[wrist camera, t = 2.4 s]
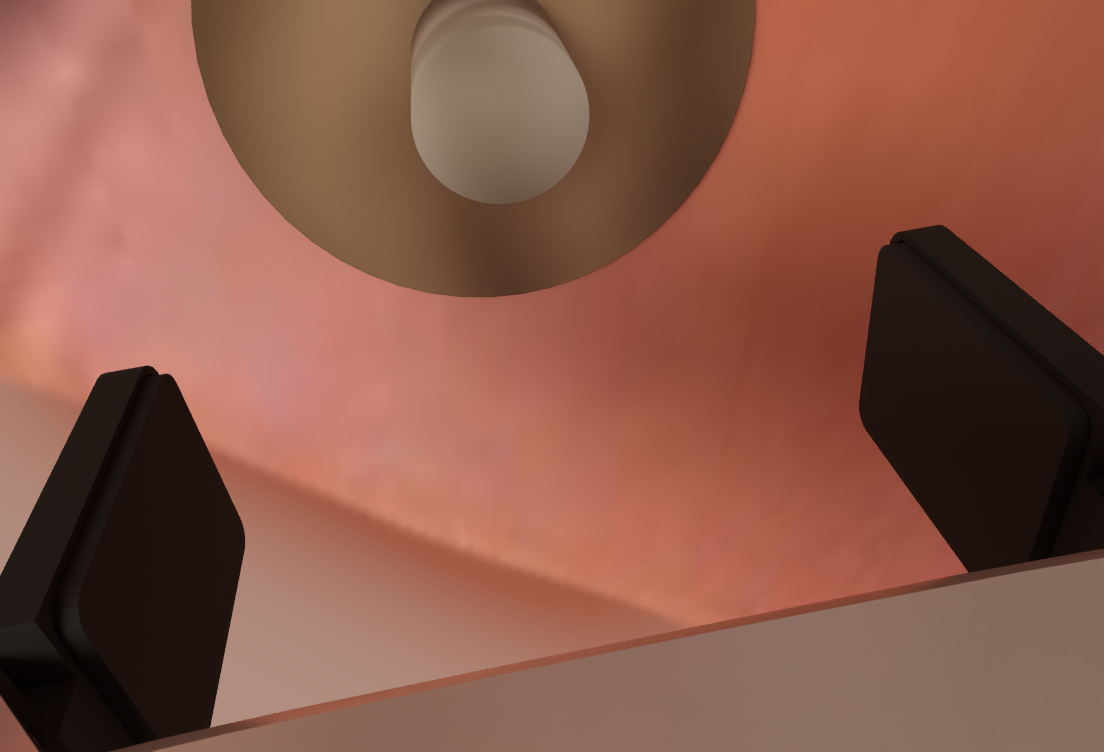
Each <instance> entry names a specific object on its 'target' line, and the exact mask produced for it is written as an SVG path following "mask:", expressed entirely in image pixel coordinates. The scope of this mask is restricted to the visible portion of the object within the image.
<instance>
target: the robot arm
mask: <svg viewBox="0 0 1104 752" xmlns="http://www.w3.org/2000/svg"><path fill="white" fill-rule="evenodd" d="M859 411H860V417H861V420H862V423H863V426H864V427H865V429H866V431H867V432H868V434H869V435H870V436H871V438H872V439H873V441H874V442H875V443H876V445H877V446H878V448H879V449H880V450H881V452H882V453H883V454H884V456H885V457H886V459H887V460H888V461H889V463H890V464H891V466H892V467H893V468H894V470H895V471H896V472H897V474H898V475H899V477H900V478H901V479H902V481H903V482H904V484H905V485H906V486H907V488H908V489H909V490H910V492H911V493H912V495H913V496H914V497H915V499H916V500H917V502H918V503H919V504H920V506H921V507H922V508H923V510H924V511H925V513H926V514H927V515H928V517H929V518H930V520H931V521H932V522H933V524H934V525H935V526H936V528H937V529H938V531H939V532H940V533H941V535H942V536H943V538H944V539H945V540H946V542H947V543H948V544H949V546H950V547H951V549H952V550H953V551H954V553H955V554H956V556H957V557H958V558H959V560H960V561H961V562H962V564H963V565H964V567H965V568H966V569H967V571H968V572H969V573H965V574H960V575H955V576H950V577H945V578H940V579H935V580H930V581H924V582H919V583H914V584H909V585H904V586H899V587H894V588H889V589H884V590H879V591H874V592H868V593H863V594H858V595H853V596H848V597H843V598H838V599H833V600H828V601H823V602H817V603H812V604H807V605H802V606H797V607H792V608H787V609H782V610H777V611H772V612H767V613H762V614H757V615H752V616H747V617H742V618H737V619H732V620H727V621H722V622H717V623H712V624H707V625H702V626H697V627H692V628H687V629H682V630H677V631H672V632H667V633H663V634H657V635H653V636H647V637H642V638H637V639H633V640H627V641H622V642H617V643H613V644H608V645H603V646H598V647H593V648H588V649H583V650H578V651H574V652H568V653H563V654H558V655H553V656H548V657H544V658H539V659H534V660H529V661H524V662H519V663H514V664H509V665H505V666H499V667H495V668H490V669H485V670H480V671H475V672H471V673H466V674H461V675H456V676H451V677H446V678H442V679H437V680H432V681H427V682H422V683H418V684H413V685H408V686H403V687H398V688H394V689H389V690H384V691H379V692H374V693H370V694H365V695H360V696H355V697H350V698H346V699H341V700H336V701H331V702H326V703H322V704H317V705H312V706H307V707H302V708H297V709H292V710H288V711H283V712H279V713H274V714H270V715H265V716H261V717H256V718H252V719H247V720H243V721H239V722H234V723H229V724H225V725H220V726H216V727H212V728H210V725H211V720H212V714H213V709H214V705H215V699H216V694H217V689H218V684H219V679H220V674H221V668H222V663H223V658H224V653H225V648H226V642H227V638H228V632H229V627H230V622H231V617H232V612H233V606H234V601H235V596H236V591H237V586H238V581H239V576H240V571H241V566H242V560H243V555H244V550H245V533H244V528H243V524H242V522H241V519H240V517H239V515H238V512H237V510H236V508H235V506H234V504H233V502H232V500H231V498H230V495H229V493H228V491H227V489H226V487H225V485H224V483H223V481H222V479H221V476H220V474H219V472H218V470H217V468H216V466H215V464H214V462H213V459H212V457H211V455H210V453H209V451H208V449H207V447H206V445H205V442H204V440H203V438H202V436H201V434H200V432H199V430H198V428H197V425H196V423H195V421H194V419H193V417H192V415H191V413H190V411H189V408H188V406H187V404H186V402H185V400H184V398H183V396H182V394H181V391H180V389H179V387H178V385H177V383H176V381H175V380H174V378H173V377H172V376H171V375H169V374H162V375H159V374H158V372H157V371H156V370H155V369H154V368H153V367H151V366H142V367H137V368H131V369H126V370H120V371H114V372H109V373H104V374H101V375H100V377H99V378H98V379H97V381H96V383H95V385H94V387H93V389H92V391H91V393H90V395H89V397H88V399H87V401H86V403H85V405H84V407H83V409H82V411H81V413H80V415H79V417H78V420H77V421H76V424H75V426H74V428H73V430H72V432H71V434H70V436H69V438H68V440H67V442H66V444H65V446H64V448H63V450H62V452H61V454H60V456H59V458H58V460H57V462H56V464H55V466H54V468H53V470H52V472H51V474H50V476H49V478H48V480H47V483H46V484H45V486H44V488H43V490H42V493H41V494H40V497H39V499H38V500H37V503H36V504H35V507H34V509H33V511H32V513H31V515H30V517H29V519H28V521H27V523H26V525H25V527H24V529H23V531H22V533H21V535H20V537H19V539H18V541H17V543H16V545H15V547H14V549H13V551H12V553H11V555H10V557H9V559H8V561H7V563H6V565H5V567H4V570H3V571H2V573H1V575H0V752H1104V356H1103V355H1102V354H1101V353H1100V352H1098V351H1097V350H1096V349H1095V348H1094V347H1092V346H1091V345H1090V344H1089V343H1087V342H1086V341H1085V340H1084V339H1083V338H1081V337H1080V336H1079V335H1078V334H1076V333H1075V332H1074V331H1073V330H1071V329H1070V328H1069V327H1068V326H1067V325H1065V324H1064V323H1063V322H1062V321H1060V320H1059V319H1058V318H1057V317H1056V316H1054V315H1053V314H1052V313H1051V312H1049V311H1048V310H1047V309H1046V308H1044V307H1043V306H1042V305H1041V304H1040V303H1038V302H1037V301H1036V300H1035V299H1033V298H1032V297H1031V296H1030V295H1029V294H1027V293H1026V292H1025V291H1024V290H1022V289H1021V288H1020V287H1019V286H1018V285H1016V284H1015V283H1014V282H1013V281H1011V280H1010V279H1009V278H1008V277H1006V276H1005V275H1004V274H1003V273H1002V272H1000V271H999V270H998V269H997V268H995V267H994V266H993V265H992V264H991V263H989V262H988V261H987V260H986V259H984V258H983V257H982V256H981V255H980V254H978V253H977V252H976V251H975V250H973V249H972V248H971V247H970V246H968V245H967V244H966V243H965V242H964V241H962V240H961V239H960V238H959V237H957V236H956V235H955V234H954V233H953V232H951V231H950V230H949V229H948V228H946V227H944V226H942V225H936V226H930V227H924V228H919V229H913V230H907V231H902V232H897V233H896V234H895V235H894V236H893V237H892V239H891V241H890V245H885V246H883V247H882V248H881V250H880V252H879V255H878V261H877V268H876V276H875V284H874V292H873V300H872V307H871V315H870V323H869V331H868V339H867V346H866V354H865V362H864V370H863V377H862V385H861V393H860V401H859Z"/></svg>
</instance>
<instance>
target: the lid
mask: <svg viewBox="0 0 1104 752" xmlns="http://www.w3.org/2000/svg"><path fill="white" fill-rule="evenodd" d="M191 8H192V27H193V34H194V41H195V48H196V54H197V61H198V65H199V69H200V72H201V76H202V79H203V83H204V86H205V90H206V93H207V97H208V100H209V102H210V105H211V107H212V110H213V112H214V114H215V117H216V119H217V121H218V124H219V126H220V129H221V131H222V133H223V135H224V137H225V139H226V141H227V142H228V144H229V146H230V148H231V149H232V151H233V153H234V155H235V156H236V158H237V160H238V162H239V163H240V165H241V167H242V168H243V169H244V171H245V172H246V173H247V175H248V176H249V177H250V179H251V180H252V181H253V183H254V184H255V185H256V187H257V188H258V189H259V191H260V192H261V194H262V195H263V196H264V197H265V198H266V199H267V200H268V201H269V202H270V203H271V204H272V206H273V207H274V208H275V209H276V210H277V211H278V212H279V213H280V214H281V215H282V216H283V217H284V218H285V219H286V220H287V221H288V222H289V223H290V224H291V225H293V226H294V227H295V228H296V229H297V230H299V231H300V232H301V233H302V234H303V235H305V236H306V237H307V238H308V239H309V240H311V241H312V242H313V243H315V244H316V245H318V246H319V247H321V248H322V249H324V250H325V251H327V252H328V253H330V254H331V255H333V256H335V257H336V258H338V259H339V260H341V261H343V262H345V263H347V264H349V265H351V266H353V267H355V268H357V269H359V270H361V271H363V272H365V273H367V274H369V275H371V276H374V277H376V278H379V279H382V280H385V281H387V282H390V283H393V284H396V285H398V286H402V287H406V288H410V289H414V290H419V291H423V292H427V293H432V294H440V295H449V296H457V297H497V296H507V295H517V294H523V293H528V292H532V291H537V290H541V289H546V288H550V287H553V286H556V285H559V284H562V283H565V282H568V281H571V280H574V279H577V278H579V277H582V276H584V275H586V274H588V273H590V272H592V271H594V270H596V269H598V268H601V267H603V266H605V265H607V264H608V263H610V262H612V261H613V260H615V259H616V258H618V257H620V256H621V255H623V254H625V253H626V252H628V251H629V250H631V249H633V248H634V247H635V246H636V245H638V244H639V243H640V242H641V241H643V240H644V239H645V238H647V237H648V236H649V235H650V234H652V233H653V232H654V231H655V230H657V229H658V228H659V227H660V226H661V225H662V224H663V223H664V222H665V221H666V220H667V219H668V218H669V217H670V216H671V215H672V214H673V213H674V212H675V211H676V210H677V209H678V208H679V207H680V206H681V205H682V203H683V202H684V201H685V200H686V198H687V197H688V196H689V195H690V193H691V192H692V191H693V190H694V188H695V187H696V186H697V185H698V183H699V182H700V181H701V179H702V178H703V176H704V174H705V173H706V171H707V170H708V168H709V166H710V165H711V163H712V162H713V160H714V158H715V157H716V155H717V154H718V152H719V150H720V148H721V145H722V143H723V141H724V139H725V137H726V135H727V133H728V131H729V129H730V127H731V125H732V122H733V120H734V117H735V114H736V111H737V108H738V105H739V102H740V99H741V96H742V93H743V91H744V86H745V82H746V77H747V73H748V68H749V63H750V59H751V53H752V43H753V33H754V22H755V2H754V0H191Z"/></svg>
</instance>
